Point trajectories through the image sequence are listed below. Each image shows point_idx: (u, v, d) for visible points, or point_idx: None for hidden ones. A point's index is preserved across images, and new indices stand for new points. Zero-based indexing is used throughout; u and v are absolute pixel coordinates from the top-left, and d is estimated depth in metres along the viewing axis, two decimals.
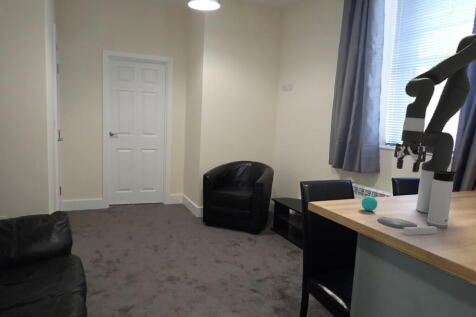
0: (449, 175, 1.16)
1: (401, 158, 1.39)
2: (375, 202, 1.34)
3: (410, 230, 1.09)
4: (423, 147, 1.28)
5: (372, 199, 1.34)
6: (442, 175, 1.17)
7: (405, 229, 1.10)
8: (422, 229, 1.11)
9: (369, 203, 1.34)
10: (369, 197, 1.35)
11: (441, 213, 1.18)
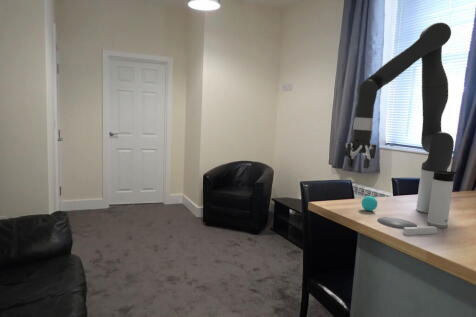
0: (449, 175, 1.16)
1: (366, 158, 1.44)
2: (375, 202, 1.34)
3: (410, 230, 1.09)
4: (346, 144, 1.41)
5: (372, 199, 1.34)
6: (442, 175, 1.17)
7: (405, 229, 1.10)
8: (422, 229, 1.11)
9: (369, 203, 1.34)
10: (369, 197, 1.35)
11: (441, 213, 1.18)
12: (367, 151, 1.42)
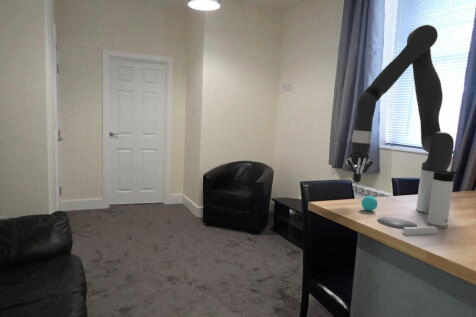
0: (449, 175, 1.16)
1: None
2: (375, 202, 1.34)
3: (410, 230, 1.09)
4: (346, 161, 1.42)
5: (372, 199, 1.34)
6: (442, 175, 1.17)
7: (405, 229, 1.10)
8: (422, 229, 1.11)
9: (369, 203, 1.34)
10: (369, 197, 1.35)
11: (441, 213, 1.18)
12: (363, 164, 1.42)
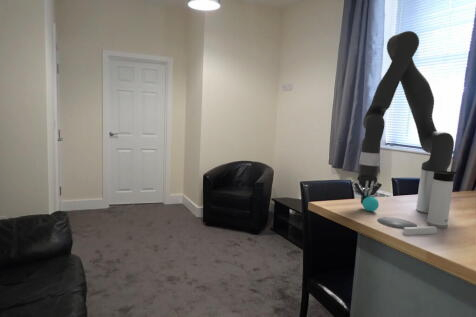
0: (449, 175, 1.16)
1: None
2: (376, 203, 1.33)
3: (410, 230, 1.09)
4: (353, 184, 1.38)
5: (374, 200, 1.33)
6: (442, 175, 1.17)
7: (405, 229, 1.10)
8: (422, 229, 1.11)
9: (370, 204, 1.33)
10: (371, 198, 1.34)
11: (441, 213, 1.18)
12: (371, 187, 1.37)
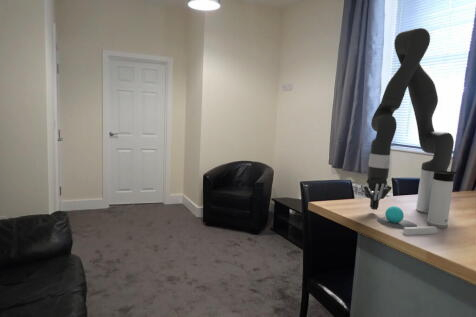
0: (449, 175, 1.16)
1: None
2: None
3: (410, 230, 1.09)
4: (362, 187, 1.31)
5: None
6: (442, 175, 1.17)
7: (405, 229, 1.10)
8: (422, 229, 1.11)
9: (389, 207, 1.22)
10: None
11: (441, 213, 1.18)
12: (381, 190, 1.32)
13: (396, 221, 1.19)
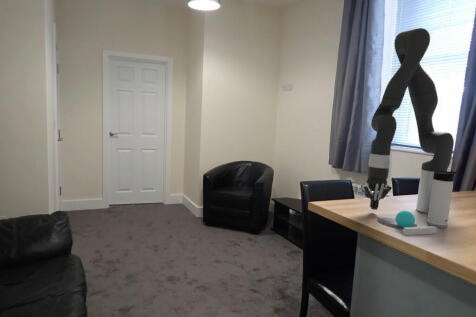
0: (449, 175, 1.16)
1: None
2: (413, 220, 1.14)
3: (410, 230, 1.09)
4: (362, 187, 1.31)
5: (410, 216, 1.14)
6: (442, 175, 1.17)
7: (405, 229, 1.10)
8: (422, 229, 1.11)
9: (406, 221, 1.13)
10: (406, 214, 1.14)
11: (441, 213, 1.18)
12: (381, 190, 1.32)
13: None
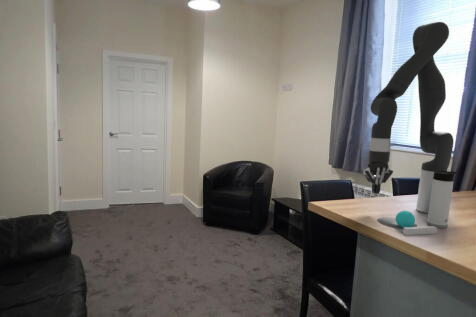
0: (449, 175, 1.16)
1: None
2: (413, 220, 1.14)
3: (410, 230, 1.09)
4: (363, 172, 1.31)
5: (410, 216, 1.14)
6: (442, 175, 1.17)
7: (405, 229, 1.10)
8: (422, 229, 1.11)
9: (406, 221, 1.13)
10: (406, 214, 1.14)
11: (441, 213, 1.18)
12: (382, 174, 1.31)
13: None
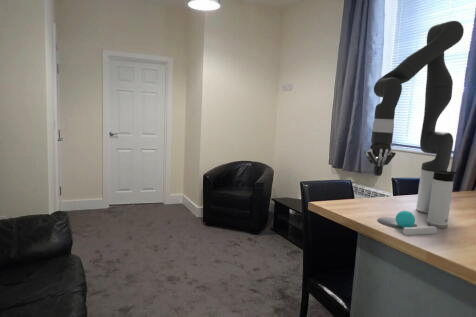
0: (449, 175, 1.16)
1: None
2: (413, 220, 1.14)
3: (410, 230, 1.09)
4: (366, 153, 1.30)
5: (410, 216, 1.14)
6: (442, 175, 1.17)
7: (405, 229, 1.10)
8: (422, 229, 1.11)
9: (406, 221, 1.13)
10: (406, 214, 1.14)
11: (441, 213, 1.18)
12: (385, 156, 1.30)
13: None
